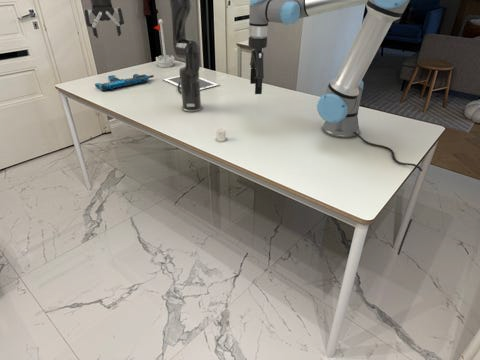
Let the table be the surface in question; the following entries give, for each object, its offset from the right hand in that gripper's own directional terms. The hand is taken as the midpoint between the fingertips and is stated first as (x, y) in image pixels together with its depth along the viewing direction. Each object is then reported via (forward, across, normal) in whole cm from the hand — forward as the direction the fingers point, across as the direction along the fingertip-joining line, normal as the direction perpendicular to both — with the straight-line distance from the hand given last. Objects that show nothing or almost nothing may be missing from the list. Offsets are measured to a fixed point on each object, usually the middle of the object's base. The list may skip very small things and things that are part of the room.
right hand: (255, 88), depth 148 cm
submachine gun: (+19, -71, -70) cm, 101 cm away
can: (+16, +15, -16) cm, 28 cm away
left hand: (-20, -10, -60) cm, 64 cm away
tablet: (+18, -66, -29) cm, 74 cm away
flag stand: (+19, -109, -47) cm, 120 cm away
